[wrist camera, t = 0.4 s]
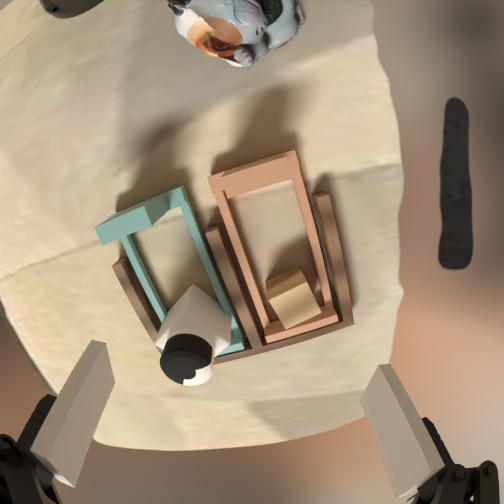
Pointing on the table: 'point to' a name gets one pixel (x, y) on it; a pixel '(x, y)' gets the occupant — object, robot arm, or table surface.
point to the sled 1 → (122, 228)
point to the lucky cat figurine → (237, 26)
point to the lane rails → (238, 296)
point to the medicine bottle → (193, 337)
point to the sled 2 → (234, 185)
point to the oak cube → (292, 297)
